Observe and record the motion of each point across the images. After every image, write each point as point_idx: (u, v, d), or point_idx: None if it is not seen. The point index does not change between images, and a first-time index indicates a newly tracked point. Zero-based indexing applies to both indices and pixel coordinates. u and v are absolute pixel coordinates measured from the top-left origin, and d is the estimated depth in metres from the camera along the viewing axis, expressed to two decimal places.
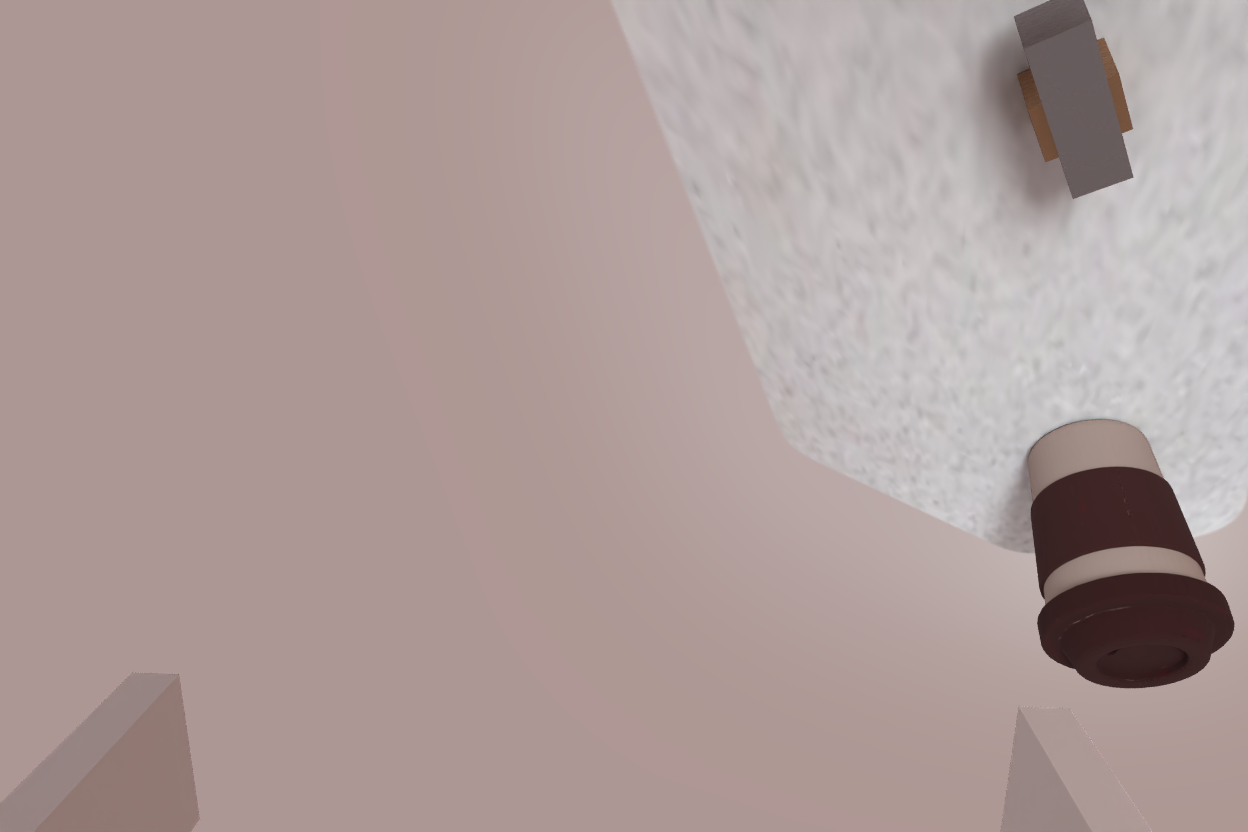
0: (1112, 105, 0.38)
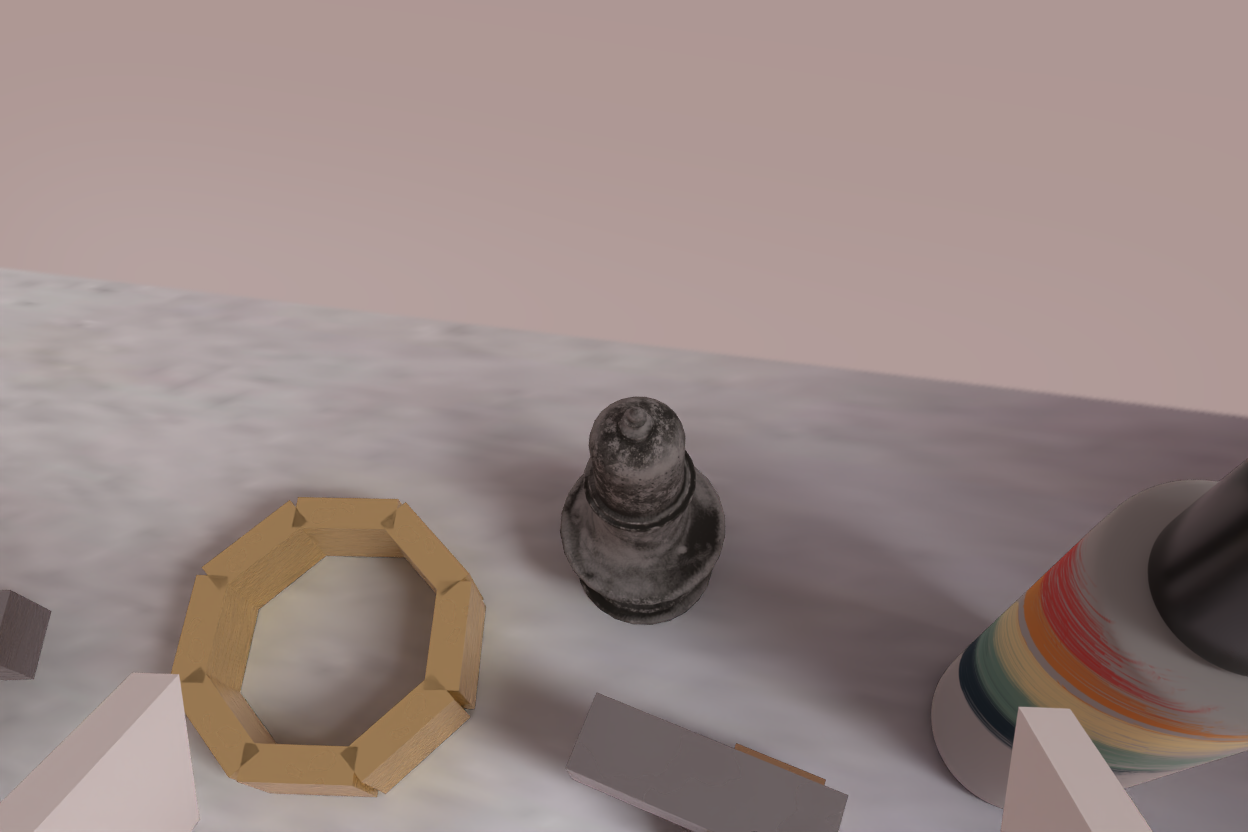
0: None
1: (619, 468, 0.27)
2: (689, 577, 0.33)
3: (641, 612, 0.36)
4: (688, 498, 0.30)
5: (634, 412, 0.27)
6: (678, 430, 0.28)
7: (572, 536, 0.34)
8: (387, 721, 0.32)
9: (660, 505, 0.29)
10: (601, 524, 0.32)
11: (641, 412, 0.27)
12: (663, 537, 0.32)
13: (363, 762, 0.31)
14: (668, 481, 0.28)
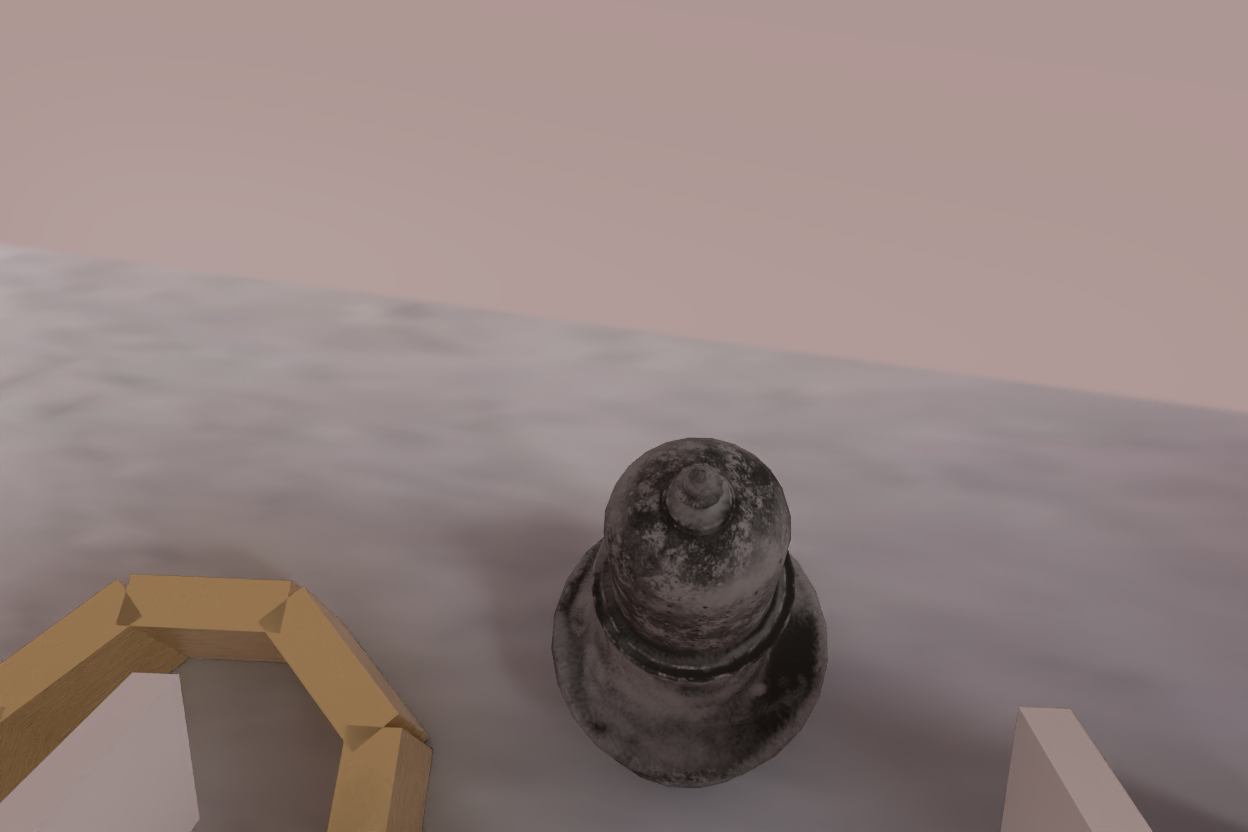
0: None
1: (663, 585, 0.14)
2: (769, 735, 0.19)
3: None
4: (782, 619, 0.17)
5: (699, 477, 0.13)
6: (780, 508, 0.14)
7: (571, 656, 0.20)
8: None
9: (735, 638, 0.16)
10: None
11: (713, 477, 0.13)
12: (731, 676, 0.18)
13: None
14: (756, 603, 0.15)
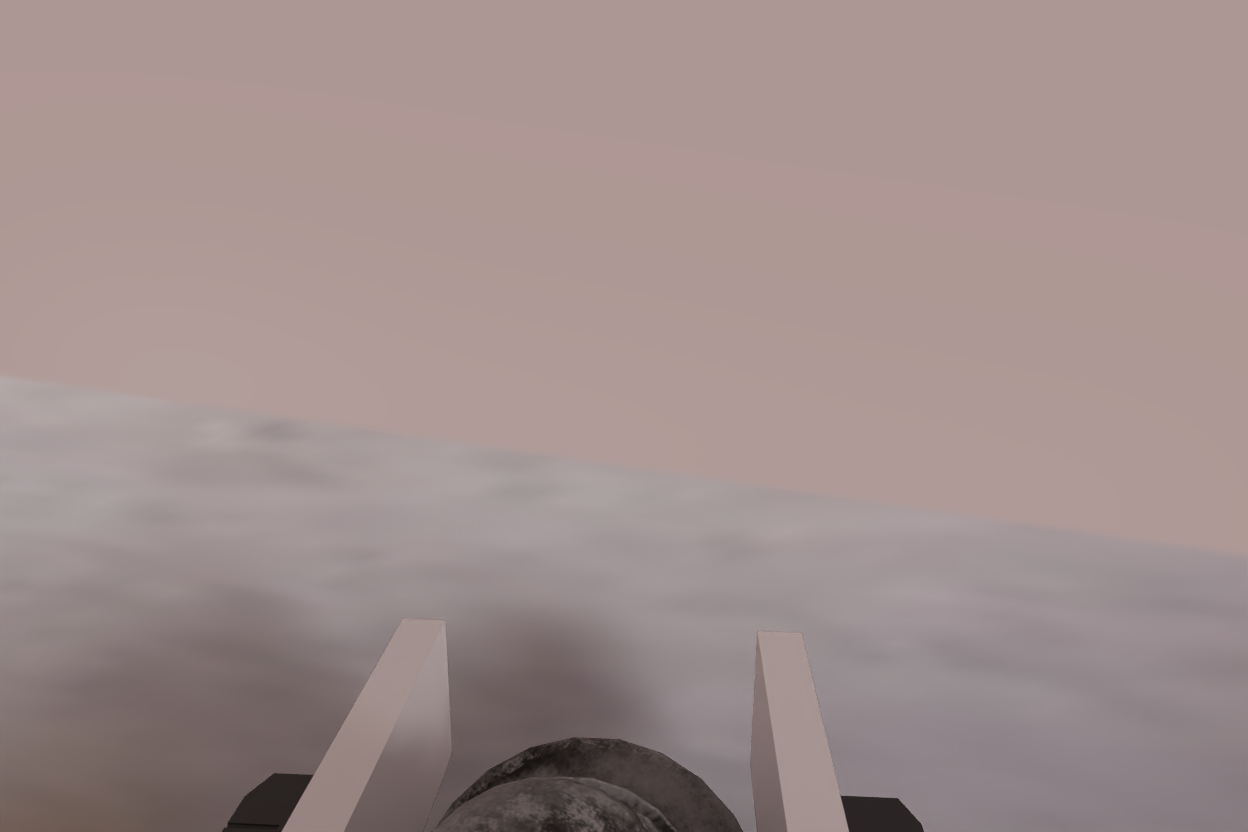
0: None
1: None
2: None
3: None
4: None
5: None
6: None
7: None
8: None
9: None
10: None
11: None
12: None
13: None
14: None
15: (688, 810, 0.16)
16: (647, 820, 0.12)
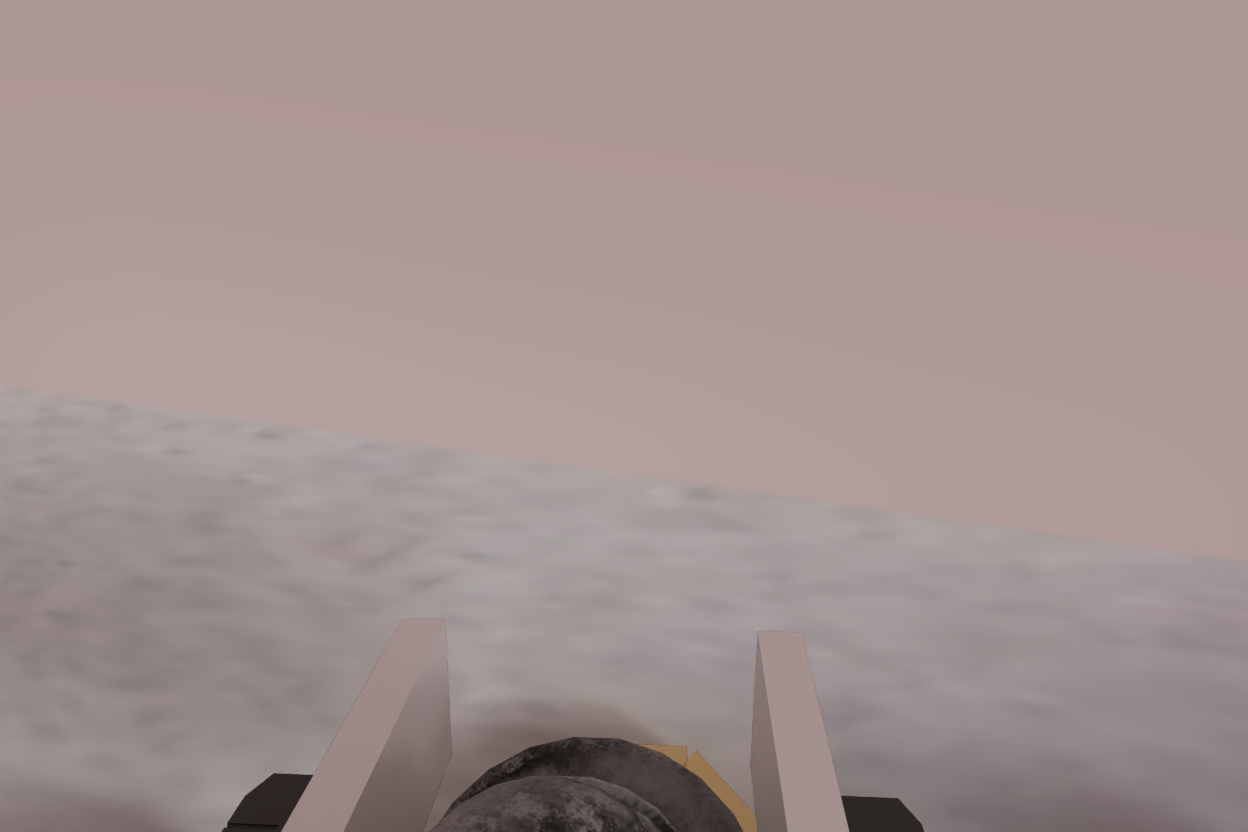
0: None
1: None
2: None
3: None
4: None
5: None
6: None
7: None
8: None
9: None
10: None
11: None
12: None
13: None
14: None
15: (688, 809, 0.16)
16: (647, 818, 0.12)
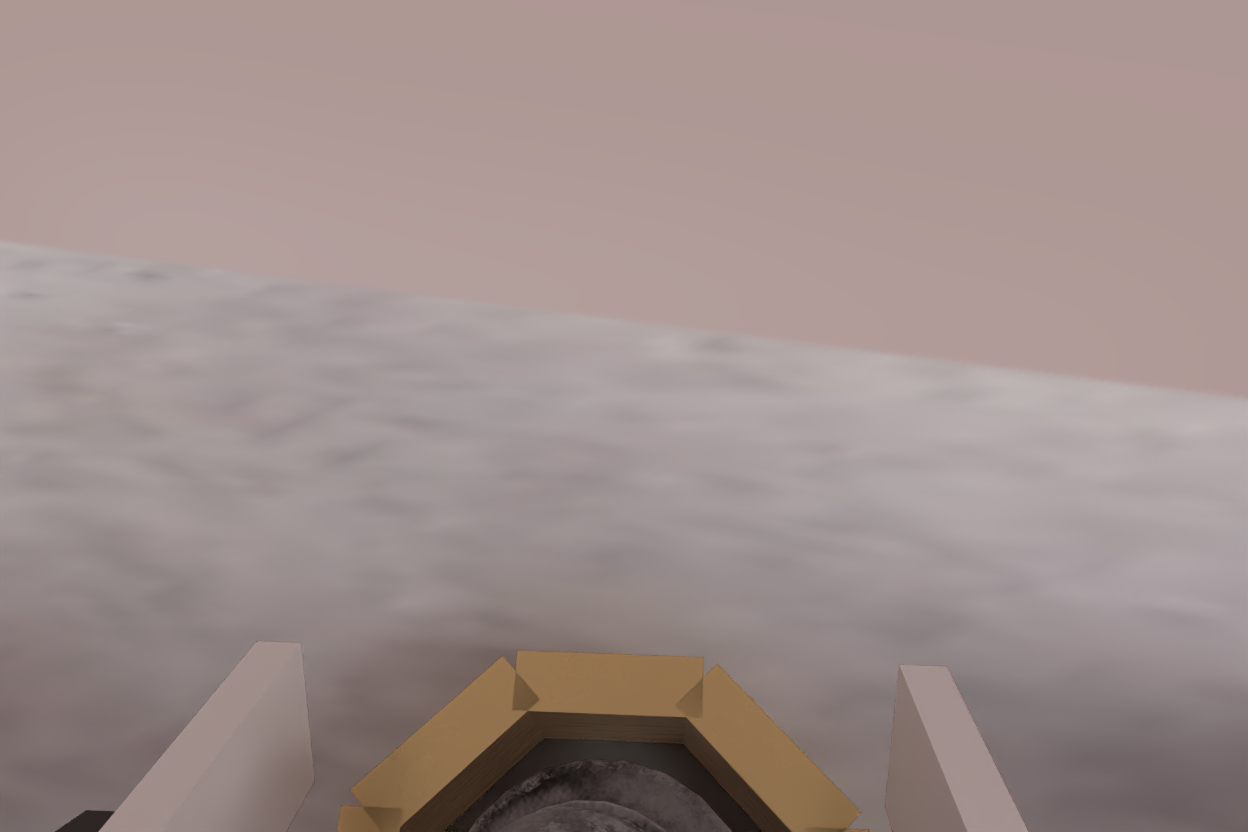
0: None
1: None
2: None
3: None
4: None
5: None
6: None
7: None
8: None
9: None
10: None
11: None
12: None
13: None
14: None
15: (689, 825, 0.17)
16: None
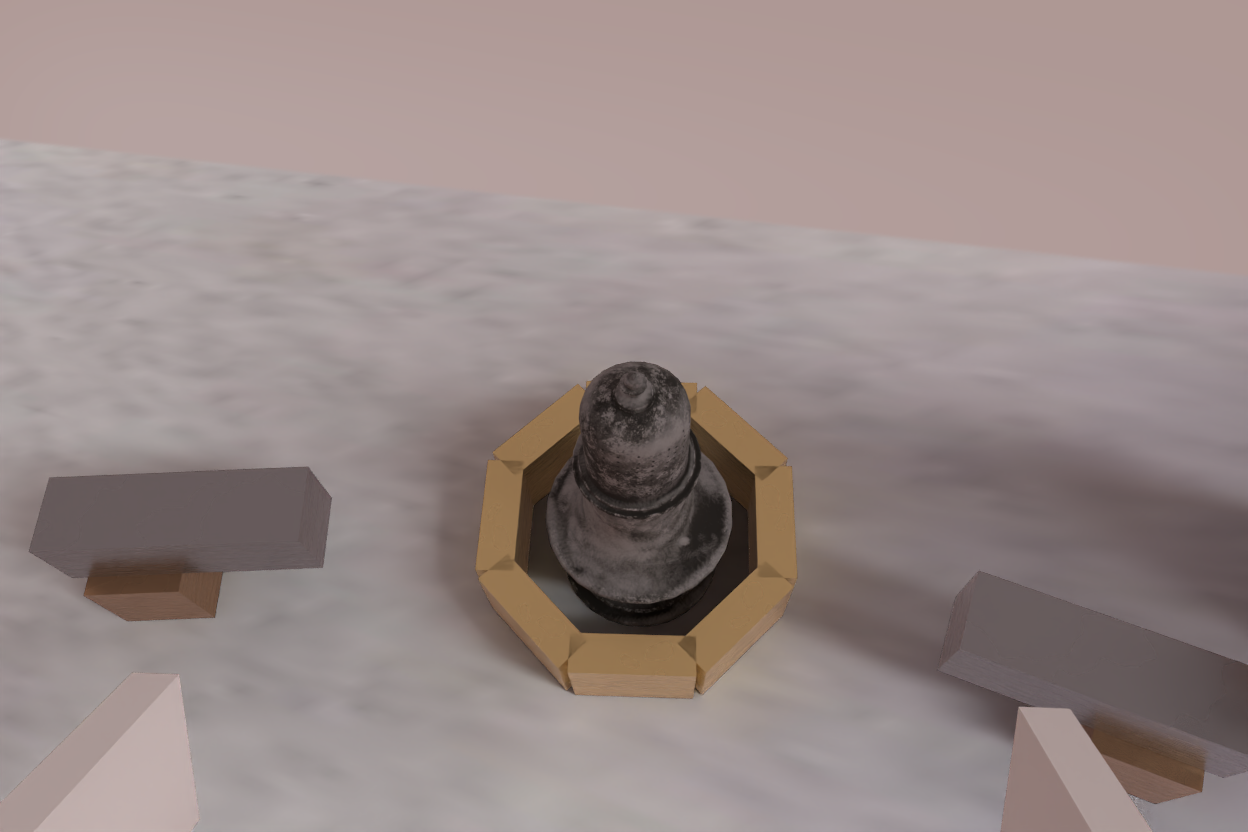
0: (161, 544, 0.28)
1: (614, 443, 0.23)
2: (692, 572, 0.29)
3: (637, 613, 0.32)
4: (693, 481, 0.26)
5: (632, 376, 0.23)
6: (683, 400, 0.24)
7: (559, 526, 0.30)
8: (724, 610, 0.29)
9: (661, 489, 0.26)
10: (592, 511, 0.28)
11: (640, 377, 0.23)
12: (664, 526, 0.28)
13: (704, 652, 0.28)
14: (671, 459, 0.24)
15: None
16: None
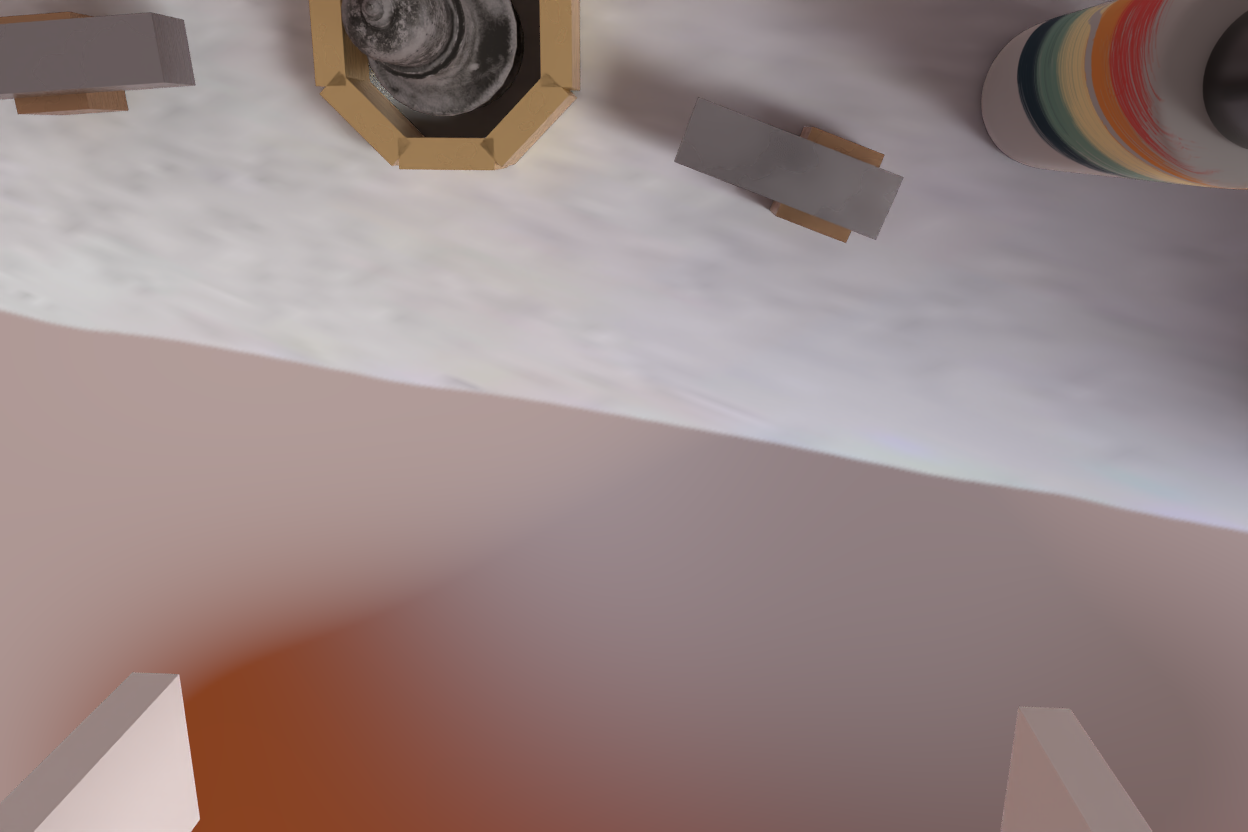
0: (58, 88, 0.36)
1: (371, 52, 0.29)
2: (484, 89, 0.36)
3: None
4: (458, 44, 0.32)
5: (368, 8, 0.28)
6: (422, 8, 0.29)
7: None
8: (514, 116, 0.37)
9: (429, 59, 0.32)
10: None
11: (376, 6, 0.28)
12: (449, 66, 0.34)
13: (500, 151, 0.37)
14: (424, 50, 0.30)
15: None
16: None
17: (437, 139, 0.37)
